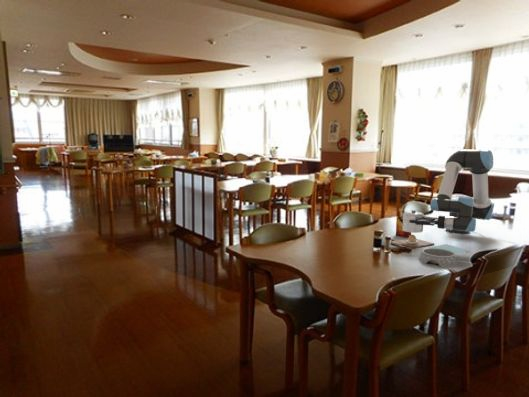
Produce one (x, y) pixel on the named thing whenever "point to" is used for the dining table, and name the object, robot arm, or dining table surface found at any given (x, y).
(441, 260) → the dog bowl
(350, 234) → the dining table surface
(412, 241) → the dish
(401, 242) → the walnut board
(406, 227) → the steel cover
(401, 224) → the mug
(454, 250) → the teal mat
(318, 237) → the dining table surface
